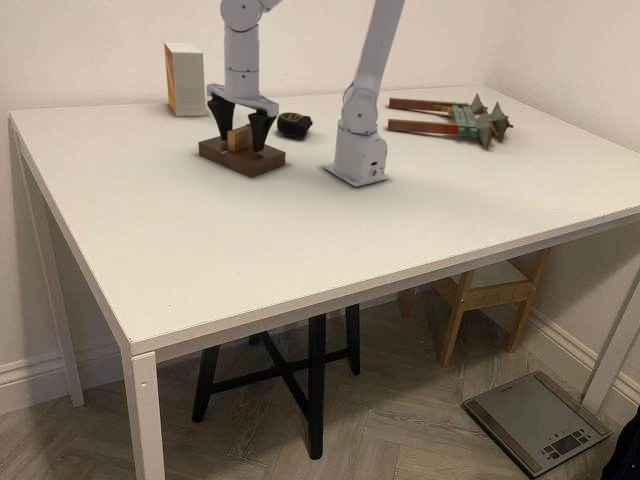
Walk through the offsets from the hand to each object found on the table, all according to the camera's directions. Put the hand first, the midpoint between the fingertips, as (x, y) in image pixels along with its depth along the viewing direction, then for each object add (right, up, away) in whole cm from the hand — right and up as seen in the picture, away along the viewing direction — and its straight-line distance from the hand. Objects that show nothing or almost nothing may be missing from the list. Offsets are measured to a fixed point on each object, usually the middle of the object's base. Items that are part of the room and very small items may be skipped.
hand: (242, 144), depth 102 cm
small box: (-17, +12, +20) cm, 29 cm away
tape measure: (+7, +6, +17) cm, 19 cm away
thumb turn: (0, 0, 0) cm, 0 cm away
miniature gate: (+42, +14, +36) cm, 57 cm away
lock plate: (0, -2, +2) cm, 3 cm away
